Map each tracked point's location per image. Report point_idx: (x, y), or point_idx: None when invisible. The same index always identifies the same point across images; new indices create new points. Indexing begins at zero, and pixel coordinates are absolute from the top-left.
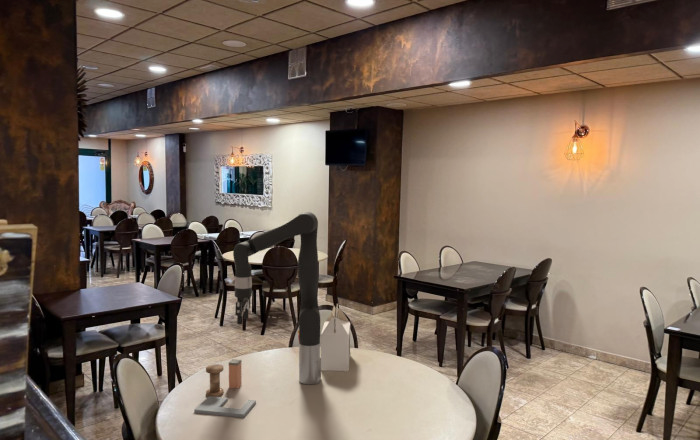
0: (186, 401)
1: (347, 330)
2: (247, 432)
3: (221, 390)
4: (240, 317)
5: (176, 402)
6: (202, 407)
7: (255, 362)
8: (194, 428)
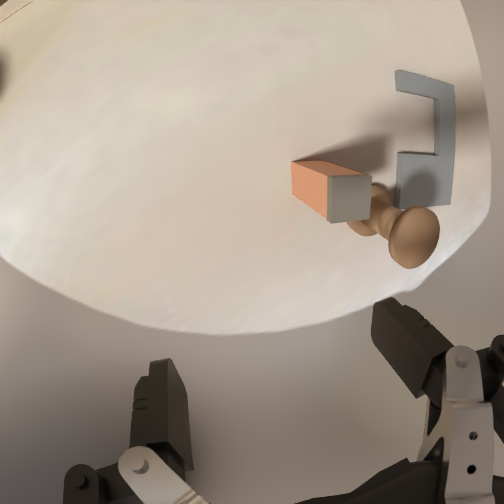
0: None
1: None
2: (477, 69)
3: None
4: (450, 346)
5: None
6: (443, 192)
7: (81, 224)
8: (481, 170)
